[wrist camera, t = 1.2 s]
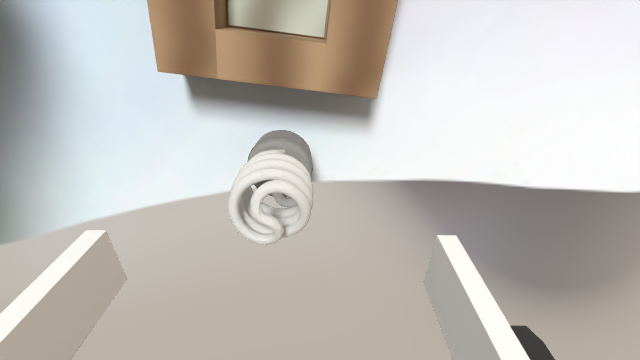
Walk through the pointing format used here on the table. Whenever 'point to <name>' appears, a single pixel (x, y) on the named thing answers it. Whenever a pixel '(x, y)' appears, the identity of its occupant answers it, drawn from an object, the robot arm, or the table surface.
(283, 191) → the light bulb
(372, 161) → the table surface
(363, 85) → the socket board
